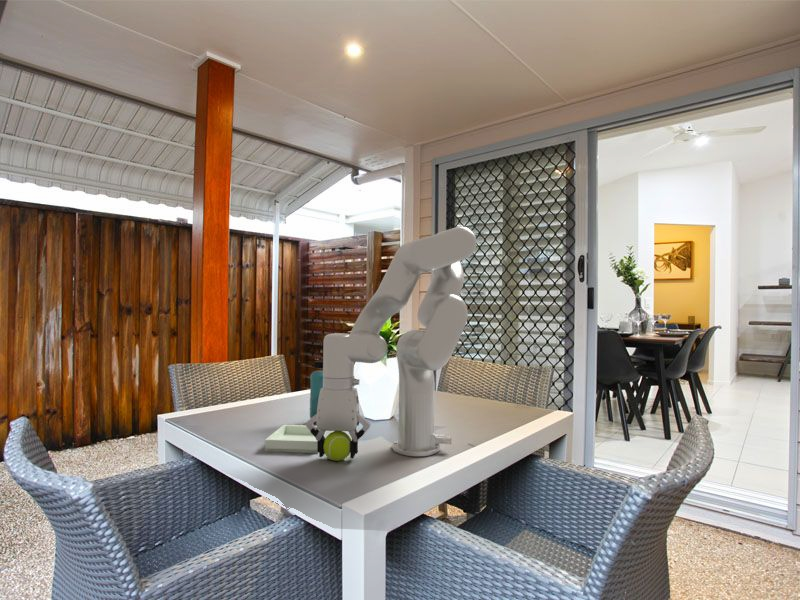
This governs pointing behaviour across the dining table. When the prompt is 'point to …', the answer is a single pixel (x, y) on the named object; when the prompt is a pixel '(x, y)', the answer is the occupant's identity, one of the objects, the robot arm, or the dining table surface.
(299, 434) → the tray
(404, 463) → the dining table surface
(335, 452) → the tennis ball
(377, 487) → the dining table surface
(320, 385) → the beverage bottle
